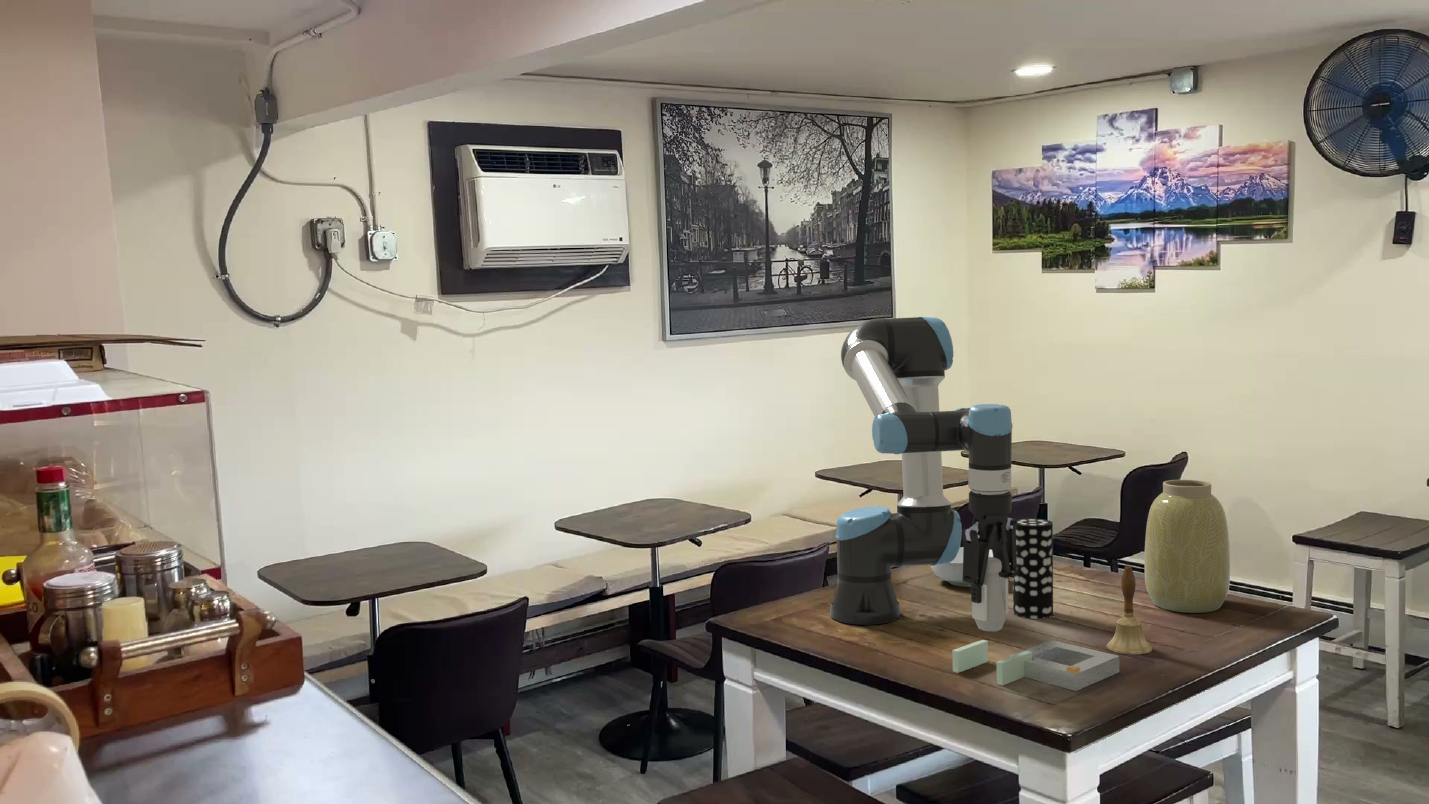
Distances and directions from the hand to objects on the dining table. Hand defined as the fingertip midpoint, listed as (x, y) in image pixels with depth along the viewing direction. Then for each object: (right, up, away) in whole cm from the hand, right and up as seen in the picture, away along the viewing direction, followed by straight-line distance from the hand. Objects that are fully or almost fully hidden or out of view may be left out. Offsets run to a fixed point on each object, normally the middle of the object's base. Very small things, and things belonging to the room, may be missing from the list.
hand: (990, 615), depth 204 cm
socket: (+13, -10, -1) cm, 17 cm away
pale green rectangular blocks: (0, -11, 0) cm, 11 cm away
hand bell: (+30, -9, +12) cm, 33 cm away
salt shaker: (0, -3, 0) cm, 3 cm away
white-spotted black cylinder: (+19, -7, +38) cm, 43 cm away
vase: (+53, -6, +40) cm, 67 cm away
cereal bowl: (+10, -5, +66) cm, 67 cm away
